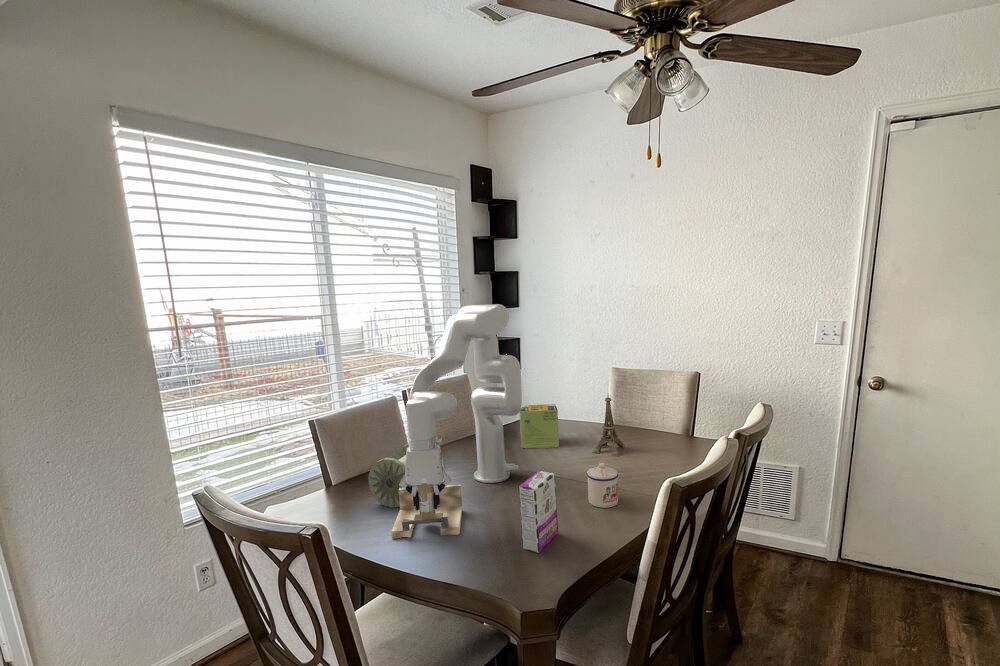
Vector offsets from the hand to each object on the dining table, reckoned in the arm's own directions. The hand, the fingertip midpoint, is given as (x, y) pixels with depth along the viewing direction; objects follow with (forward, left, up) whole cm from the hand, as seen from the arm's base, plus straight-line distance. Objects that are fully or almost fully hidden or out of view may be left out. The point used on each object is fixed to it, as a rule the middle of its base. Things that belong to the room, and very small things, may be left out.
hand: (427, 507), depth 133 cm
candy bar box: (-30, +11, -6) cm, 32 cm away
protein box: (-38, -66, -6) cm, 76 cm away
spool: (+10, -22, -6) cm, 25 cm away
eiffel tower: (-64, -53, -6) cm, 83 cm away
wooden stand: (0, -2, -6) cm, 6 cm away
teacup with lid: (-52, -10, -6) cm, 53 cm away
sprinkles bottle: (0, 0, -4) cm, 4 cm away
